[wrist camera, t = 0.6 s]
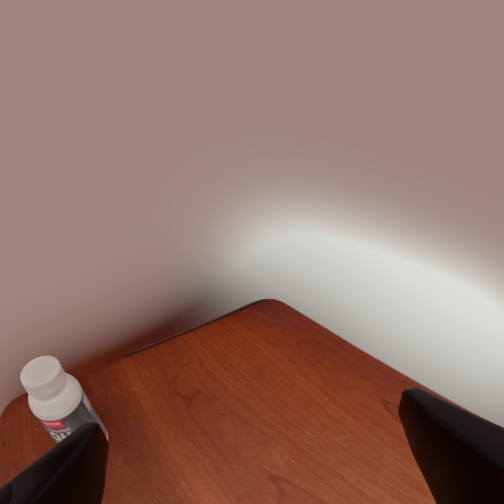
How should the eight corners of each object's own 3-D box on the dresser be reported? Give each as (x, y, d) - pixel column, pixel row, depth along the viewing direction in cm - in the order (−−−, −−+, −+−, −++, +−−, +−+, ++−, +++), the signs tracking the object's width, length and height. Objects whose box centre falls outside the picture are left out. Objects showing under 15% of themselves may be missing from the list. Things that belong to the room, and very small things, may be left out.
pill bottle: (73, 471, 20) (16, 402, 16) (57, 434, 24) (9, 364, 20) (119, 448, 23) (74, 375, 19) (98, 414, 27) (59, 341, 23)
